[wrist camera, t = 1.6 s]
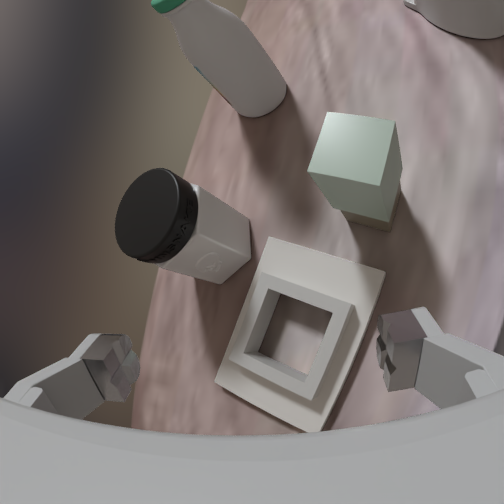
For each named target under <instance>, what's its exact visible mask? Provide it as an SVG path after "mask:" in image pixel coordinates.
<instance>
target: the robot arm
mask: <svg viewBox="0 0 504 504" xmlns="http://www.w3.org/2000/svg"><path fill="white" fill-rule="evenodd" d="M404 4H405V5H406V6H408V7H410V8H412V9H414V10H416V11H418V12H420V13H421V14H422V15H423V16H424V17H425V18H426V19H427V20H429V21H430V22H431V23H433V24H435V25H436V26H438V27H440V28H442V29H444V30H447V31H449V32H452V33H455V34H458V35H462V36H466V37H471V38H479V39H491V38H497V37H500V36H502V35H504V0H404ZM377 328H378V330H379V333H380V335H379V337H378V338H377V344H376V350H377V359H378V363H379V366H380V368H381V369H383V370H384V374H383V378H384V381H385V384H386V387H387V390H388V392H391V391H397V390H403V389H408V388H414V387H415V389H416V390H417V391H418V392H420V393H421V394H422V395H424V396H425V397H426V398H428V399H429V400H430V401H431V402H433V403H434V404H435V405H437V406H438V407H439V408H441V409H440V410H436V411H432V412H428V413H424V414H420V415H416V416H412V417H407V418H403V419H398V420H393V421H388V422H383V423H378V424H372V425H366V426H360V427H353V428H346V429H338V430H329V431H320V432H310V433H297V434H281V435H250V436H225V435H196V434H180V433H167V432H157V431H148V430H139V429H132V428H125V427H118V426H112V425H106V424H100V423H95V422H90V421H84V420H82V419H83V418H84V417H85V416H87V415H88V414H89V413H90V412H92V411H93V410H94V409H96V408H97V407H98V406H99V405H101V404H102V403H103V402H104V400H108V401H118V402H125V400H126V398H127V396H128V395H129V393H130V391H131V386H130V385H131V384H132V383H134V382H135V381H136V380H137V379H138V377H139V373H140V363H139V359H138V357H137V355H136V354H135V353H134V352H132V350H131V348H132V343H131V340H130V338H129V337H128V336H127V335H125V334H90V335H88V336H87V337H86V338H85V340H84V341H83V342H82V343H81V344H80V345H79V346H78V348H77V349H76V350H75V351H74V352H73V353H72V355H71V356H70V357H69V358H64V359H62V360H60V361H58V362H56V363H54V364H52V365H50V366H48V367H46V368H44V369H42V370H40V371H38V372H36V373H35V374H33V375H30V376H29V377H26V378H24V379H23V380H20V381H19V382H17V383H16V384H15V385H14V387H13V388H12V389H11V390H10V391H9V393H7V395H6V396H5V397H4V398H0V504H504V356H502V355H499V354H497V353H495V352H492V351H490V350H487V349H485V348H483V347H480V346H478V345H476V344H473V343H471V342H469V341H466V340H464V339H461V338H459V337H457V336H454V335H452V334H450V333H446V334H444V333H443V331H442V330H441V328H440V327H439V325H438V324H437V323H436V321H435V320H434V318H433V317H432V316H431V314H430V313H429V311H428V310H427V309H426V307H419V308H414V309H409V310H405V311H400V312H394V313H389V314H383V315H379V316H378V323H377Z"/></svg>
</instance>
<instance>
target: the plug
mask: <svg viewBox="0 0 504 504" xmlns="http://www.w3.org/2000/svg"><path fill="white" fill-rule="evenodd" d="M307 172H308V173H309V174H310V176H311V177H312V179H313V180H314V181H315V183H316V184H317V186H318V187H319V188H320V190H321V191H322V193H323V194H324V195H325V197H326V198H327V200H328V201H329V203H330V204H331V206H332V207H333V208H335V209H339V210H341V212H342V213H343V215H344V217H345V218H346V220H347V221H350V222H354V223H358V224H361V225H365V226H369V227H372V228H376V229H380V230H383V231H387V232H390V231H391V227H392V224H393V220H394V216H395V212H396V209H397V205H398V201H399V197H400V193H401V185H400V177H401V173H402V161H401V154H400V147H399V141H398V134H397V128H396V123H395V121H392V120H386V119H380V118H373V117H366V116H359V115H351V114H343V113H334V112H327V115H326V118H325V121H324V124H323V127H322V130H321V133H320V136H319V139H318V141H317V144H316V147H315V150H314V153H313V156H312V159H311V162H310V165H309V167H308V170H307Z"/></svg>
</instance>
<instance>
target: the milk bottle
mask: <svg viewBox="0 0 504 504" xmlns="http://www.w3.org/2000/svg"><path fill="white" fill-rule="evenodd" d="M151 5H152V7H153V8H154V9H155V10H156V11H158V12H159V13H161V14H162V16H163V17H167V18H168V19H169V20H170V21H171V23H172V25H173V27H174V29H175V32H176V35H177V38H178V42H179V45H180V47H181V50H182V52H183V53H184V55H185V57H186V58H187V59H188V60H189V62H190V63H191V64H192V65H193V66H194V67H195V68H196V69H197V71H198V72H199V73H200V74H201V75H202V76H203V77H204V78H205V79H206V80H207V81H208V82H209V83H210V84H211V85H212V86H213V87H214V88H215V89H216V90H217V91H218V92H219V93H220V94H221V96H222V97H223V98H224V99H225V100H226V101H227V102H228V103H229V104H230V105H231V106H232V107H233V108H234V109H235V110H236V111H237V112H238V113H239V114H241V115H243V116H246V117H259V116H262V115H265V114H267V113H269V112H271V111H272V110H274V109H275V108H276V107H277V106H278V105H279V104H280V103H281V102H282V101H283V99H284V97H285V94H286V82H285V80H284V78H283V77H282V75H281V73H280V72H279V70H278V69H277V67H276V66H275V64H274V63H273V61H272V60H271V59H270V57H269V56H268V54H267V53H266V51H265V50H264V48H263V47H262V46H261V44H260V43H259V42H258V40H257V39H256V37H255V36H254V35H253V33H252V32H251V31H250V30H249V28H248V27H247V26H246V25H245V24H244V22H243V21H242V20H241V19H240V18H239V17H237V16H236V15H235V14H233V13H231V12H230V11H228V10H227V9H224V8H222V7H220V6H218V5H215V4H213V3H212V2H210V1H208V0H152V2H151Z"/></svg>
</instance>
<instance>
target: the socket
mask: <svg viewBox="0 0 504 504" xmlns="http://www.w3.org/2000/svg"><path fill="white" fill-rule="evenodd" d="M385 276H386V272H385V271H382V270H379V269H376V268H372V267H369V266H366V265H363V264H359V263H356V262H353V261H350V260H346V259H343V258H340V257H337V256H333V255H330V254H327V253H323V252H320V251H317V250H314V249H310V248H307V247H304V246H300V245H297V244H294V243H290V242H287V241H283V240H280V239H277V238H273V237H270V236H269V238H268V240H267V243H266V246H265V248H264V251H263V254H262V256H261V259H260V262H259V264H258V267H257V270H256V272H255V275H254V278H253V280H252V283H251V286H250V288H249V291H248V294H247V296H246V299H245V302H244V304H243V307H242V310H241V312H240V315H239V318H238V320H237V323H236V326H235V328H234V331H233V334H232V336H231V339H230V341H229V344H228V347H227V349H226V352H225V355H224V357H223V360H222V362H221V365H220V368H219V370H218V373H217V375H216V378H215V381H214V382H215V383H217V384H219V385H220V386H222V387H224V388H225V389H227V390H229V391H230V392H232V393H234V394H236V395H237V396H239V397H241V398H243V399H244V400H246V401H248V402H250V403H252V404H253V405H255V406H257V407H259V408H261V409H263V410H264V411H266V412H268V413H270V414H272V415H274V416H276V417H278V418H280V419H282V420H283V421H285V422H287V423H289V424H291V425H293V426H295V427H297V428H300V429H302V430H304V431H306V432H308V433H310V432H320V431H322V429H323V427H324V425H325V423H326V421H327V419H328V417H329V415H330V413H331V411H332V409H333V407H334V405H335V403H336V401H337V399H338V396H339V394H340V392H341V390H342V388H343V385H344V383H345V381H346V379H347V376H348V374H349V372H350V370H351V367H352V365H353V362H354V360H355V358H356V355H357V353H358V350H359V348H360V345H361V343H362V340H363V338H364V335H365V333H366V330H367V327H368V325H369V322H370V319H371V317H372V314H373V311H374V308H375V306H376V303H377V300H378V297H379V294H380V291H381V288H382V285H383V282H384V279H385ZM281 293H282V294H284V295H287V296H289V297H292V298H295V299H297V300H300V301H303V302H305V303H308V304H311V305H313V306H316V307H319V308H321V309H324V310H327V311H329V312H332V313H333V314H332V317H331V319H330V322H329V325H328V327H327V330H326V332H325V335H324V337H323V340H322V342H321V345H320V347H319V350H318V352H317V355H316V357H315V359H314V362H313V364H312V367H311V369H310V371H309V374H308V375H306V374H304V373H302V372H300V371H298V370H295V369H293V368H291V367H289V366H287V365H285V364H282V363H280V362H278V361H276V360H274V359H272V358H270V357H268V356H266V355H264V354H261V353H259V352H258V351H259V348H260V346H261V343H262V341H263V338H264V335H265V333H266V330H267V328H268V325H269V323H270V320H271V317H272V315H273V312H274V310H275V307H276V304H277V302H278V299H279V296H280V294H281Z"/></svg>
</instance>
